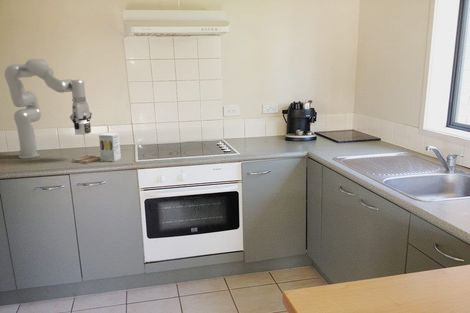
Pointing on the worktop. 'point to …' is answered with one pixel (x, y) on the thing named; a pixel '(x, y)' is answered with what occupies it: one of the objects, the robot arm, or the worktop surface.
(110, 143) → the supplement box
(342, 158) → the worktop surface
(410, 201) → the worktop surface
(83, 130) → the medicine bottle
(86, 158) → the oak trivet
